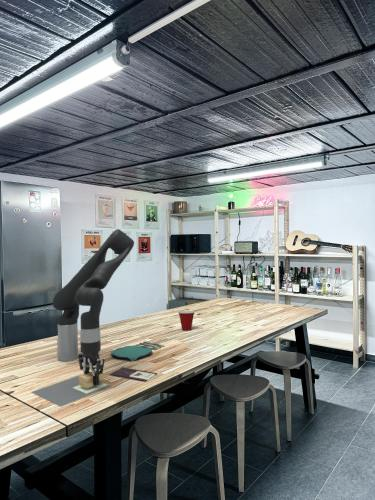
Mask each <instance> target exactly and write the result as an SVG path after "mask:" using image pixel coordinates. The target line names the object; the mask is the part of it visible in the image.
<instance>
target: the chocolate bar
mask: <svg viewBox="0 0 375 500" xmlns="http://www.w3.org/2000/svg"><path fill="white" fill-rule="evenodd" d="M157 375H158V372H154V371H147V370H140V369H134V368H128V367H120V368H118V369H116V370H114V371H113V372H111V373H110V374H109V376H111V377H117V378H122V379H127V380H133V381H136V382H137V381H139V382H144V383H146V382H148V381H150V380H151V379H152V378H154V377H156V376H157Z"/></svg>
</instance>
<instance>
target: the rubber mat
mask: <svg viewBox="0 0 375 500" xmlns="http://www.w3.org/2000/svg"><path fill="white" fill-rule="evenodd" d="M81 375H82V374H79V375H76V376H74V377H71V378H68V379H67V378H66V379H63V380H62V381H59V382H55V383H53V384H50V385H47V386H45V387H42V388H38V389H36V390H33V391H31V392H30V393H32V394H34V395H35V396H38V397H40V398H42V399H44V400H46V401H47V402H50V403H51V404H54V405H56V406H57V407H60V408H62V407H63V406H66V405H68V404H71V403H72V402H76V401H79V400H81V399H82V398H83V399H84V398H86V397H88V396H91V395H93V394H96V393H98V392H100V391H103V390H105V389H108V388H111V387H112V385H111V384H108V383H105V382H102V383H99V384H98V385H94V386H92V387H89V388H84V387H82V386H79V376H81Z"/></svg>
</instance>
